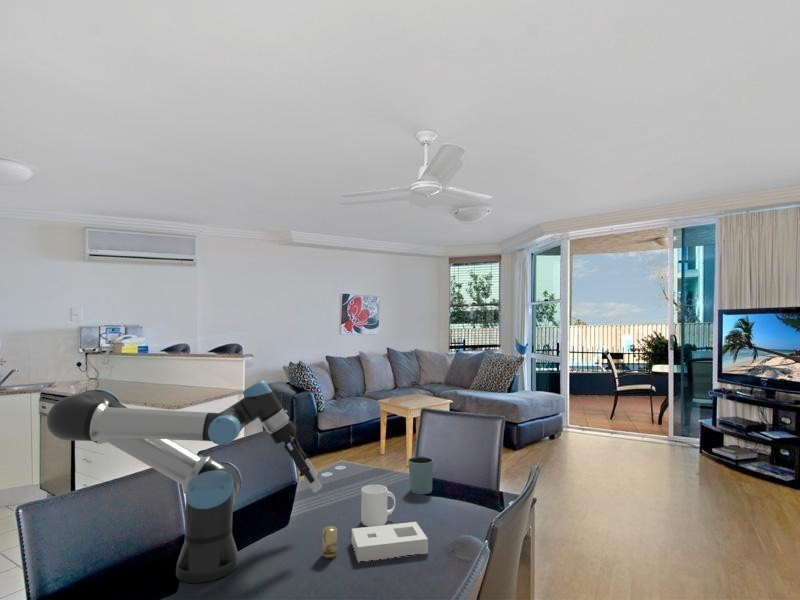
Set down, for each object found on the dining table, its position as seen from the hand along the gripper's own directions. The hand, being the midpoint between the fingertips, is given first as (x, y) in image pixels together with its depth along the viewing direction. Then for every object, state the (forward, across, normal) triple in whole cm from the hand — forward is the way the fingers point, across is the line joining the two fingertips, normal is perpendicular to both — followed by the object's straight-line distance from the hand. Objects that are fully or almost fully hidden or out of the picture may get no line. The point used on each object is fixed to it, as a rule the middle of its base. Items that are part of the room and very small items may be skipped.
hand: (316, 483), depth 138 cm
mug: (+24, +6, -9) cm, 27 cm away
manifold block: (+24, -13, -8) cm, 29 cm away
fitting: (+15, -13, +6) cm, 21 cm away
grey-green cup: (+36, +30, -29) cm, 55 cm away
